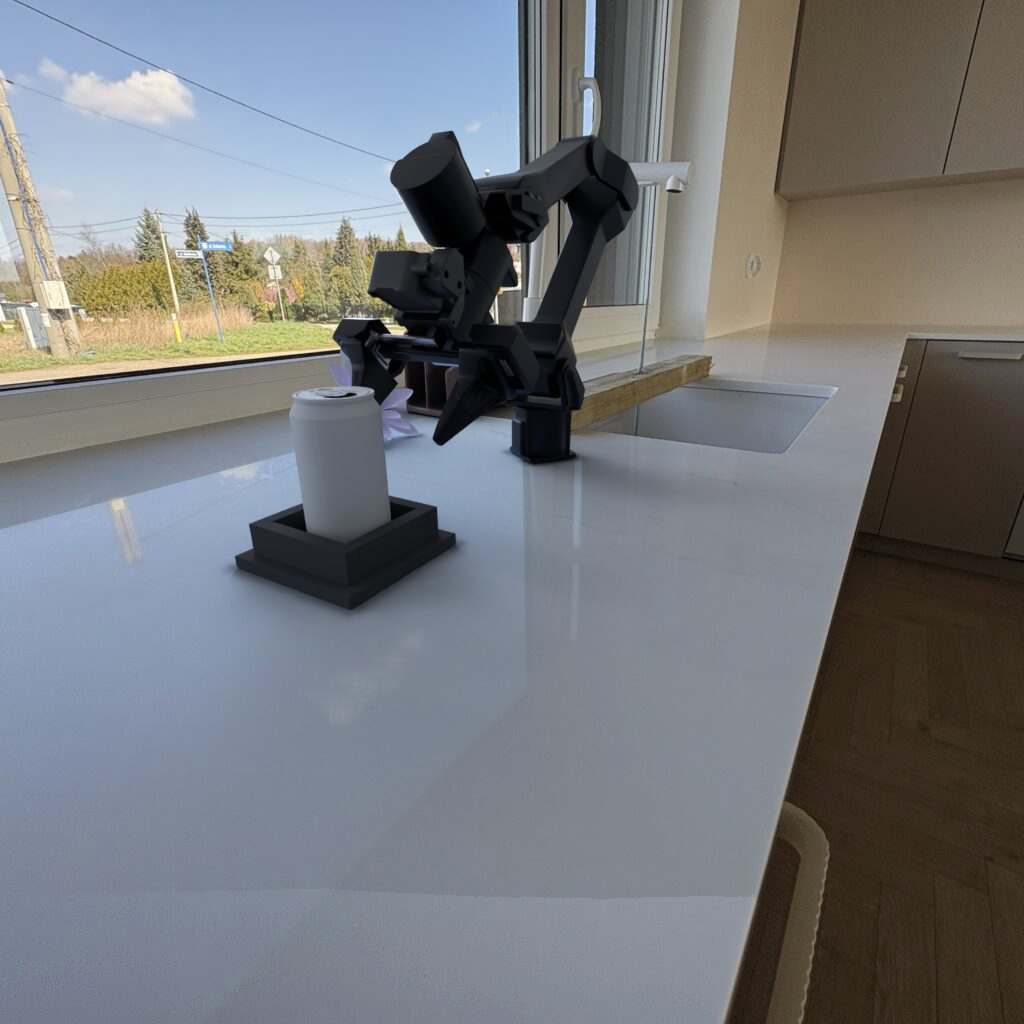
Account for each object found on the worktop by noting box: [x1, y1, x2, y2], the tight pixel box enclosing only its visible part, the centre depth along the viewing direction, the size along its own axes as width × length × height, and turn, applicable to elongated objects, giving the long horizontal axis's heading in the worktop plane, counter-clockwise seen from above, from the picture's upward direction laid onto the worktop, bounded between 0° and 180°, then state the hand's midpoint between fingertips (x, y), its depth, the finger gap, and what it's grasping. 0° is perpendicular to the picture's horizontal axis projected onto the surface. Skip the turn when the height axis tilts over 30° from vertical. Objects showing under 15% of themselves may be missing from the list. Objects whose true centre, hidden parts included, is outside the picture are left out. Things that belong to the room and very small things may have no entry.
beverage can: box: [288, 385, 391, 544], centre depth 43 cm, size 6×6×12 cm
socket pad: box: [234, 495, 457, 610], centre depth 45 cm, size 12×12×4 cm
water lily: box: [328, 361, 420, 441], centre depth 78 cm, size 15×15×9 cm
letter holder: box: [402, 329, 505, 418], centre depth 97 cm, size 10×20×14 cm, turn 143°
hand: (392, 435), depth 47 cm, fingers open, 9 cm apart
